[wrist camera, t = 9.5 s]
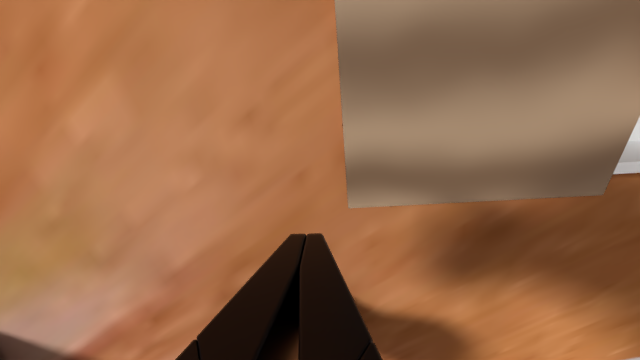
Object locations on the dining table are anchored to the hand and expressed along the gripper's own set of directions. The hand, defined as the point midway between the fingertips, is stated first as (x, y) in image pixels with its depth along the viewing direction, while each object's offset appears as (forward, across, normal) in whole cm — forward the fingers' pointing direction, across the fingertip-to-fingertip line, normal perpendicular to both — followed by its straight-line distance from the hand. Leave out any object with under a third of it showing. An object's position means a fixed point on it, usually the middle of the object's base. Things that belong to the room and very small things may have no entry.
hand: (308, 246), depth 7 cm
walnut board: (+12, -8, -4) cm, 15 cm away
